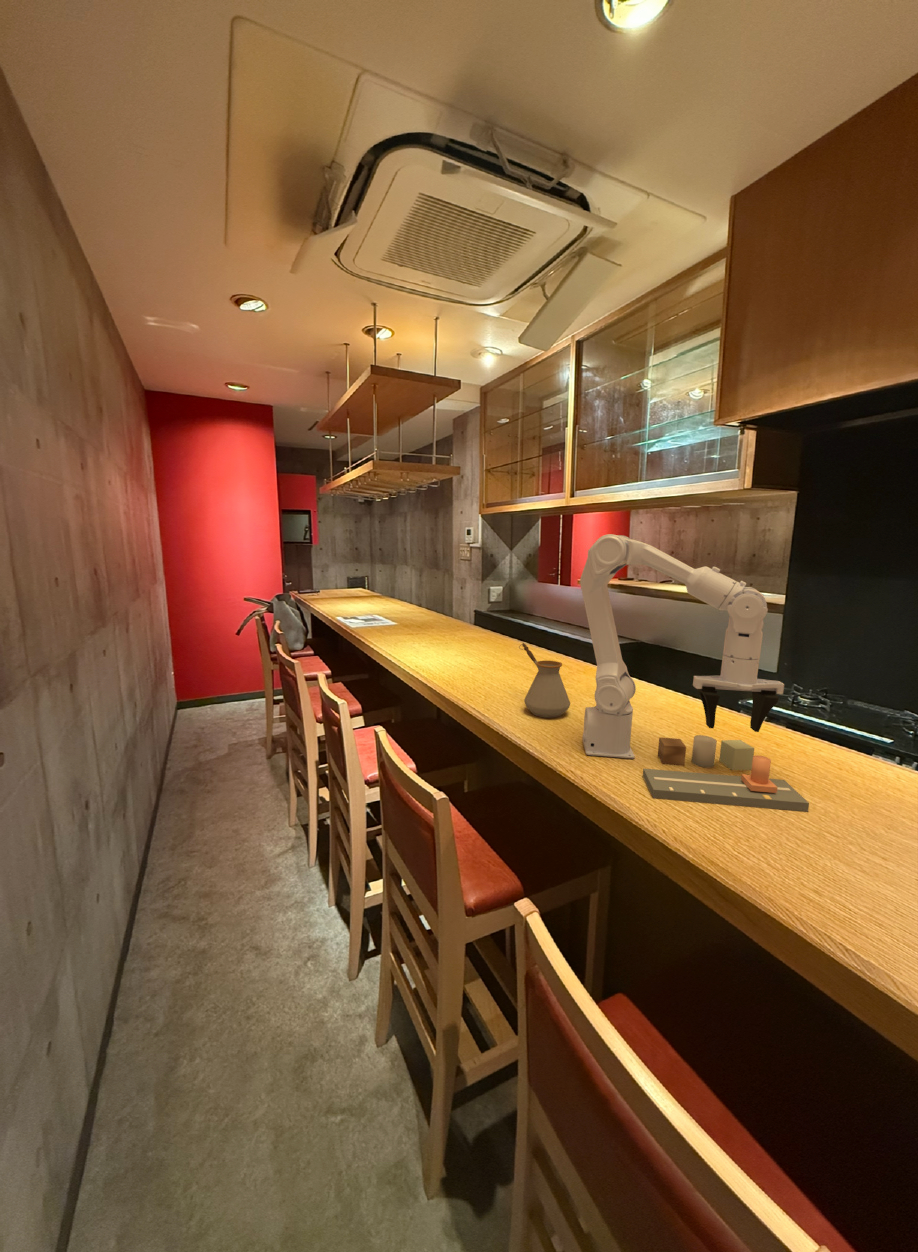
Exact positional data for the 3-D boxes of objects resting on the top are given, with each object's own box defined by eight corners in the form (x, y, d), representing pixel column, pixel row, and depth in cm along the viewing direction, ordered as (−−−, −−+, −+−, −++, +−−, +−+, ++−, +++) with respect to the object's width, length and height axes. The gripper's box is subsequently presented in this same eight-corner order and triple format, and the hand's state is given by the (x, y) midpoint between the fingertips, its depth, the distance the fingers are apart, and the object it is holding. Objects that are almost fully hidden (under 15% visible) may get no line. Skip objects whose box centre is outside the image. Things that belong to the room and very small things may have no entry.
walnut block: (662, 764, 95) (664, 745, 95) (657, 756, 99) (659, 737, 99) (684, 766, 95) (686, 746, 94) (678, 757, 99) (680, 738, 98)
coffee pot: (578, 718, 120) (582, 658, 117) (536, 722, 116) (539, 661, 114) (538, 692, 140) (541, 641, 137) (501, 696, 136) (503, 643, 134)
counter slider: (750, 790, 82) (754, 762, 81) (741, 779, 86) (744, 752, 85) (776, 793, 81) (780, 764, 80) (765, 781, 85) (769, 754, 84)
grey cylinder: (695, 766, 94) (697, 742, 94) (688, 758, 98) (691, 734, 98) (717, 768, 94) (719, 744, 93) (709, 759, 98) (712, 736, 97)
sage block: (732, 771, 93) (735, 748, 92) (719, 761, 97) (721, 740, 96) (751, 770, 94) (754, 748, 93) (737, 761, 97) (740, 739, 97)
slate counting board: (652, 797, 82) (653, 788, 82) (642, 776, 90) (643, 767, 90) (807, 811, 79) (809, 802, 79) (783, 787, 87) (784, 778, 86)
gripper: (705, 658, 84) (696, 733, 87) (796, 663, 82) (785, 740, 85) (692, 650, 91) (685, 719, 94) (777, 654, 89) (767, 725, 91)
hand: (732, 728), depth 90 cm, fingers open, 7 cm apart
